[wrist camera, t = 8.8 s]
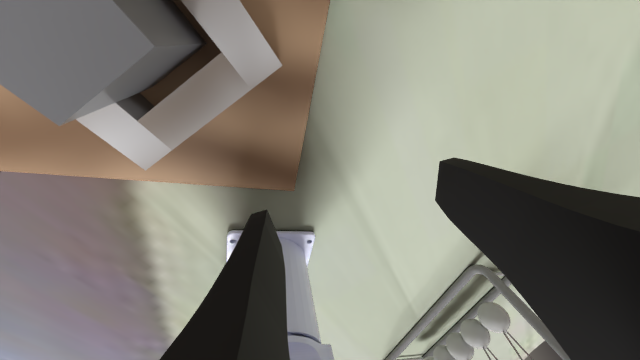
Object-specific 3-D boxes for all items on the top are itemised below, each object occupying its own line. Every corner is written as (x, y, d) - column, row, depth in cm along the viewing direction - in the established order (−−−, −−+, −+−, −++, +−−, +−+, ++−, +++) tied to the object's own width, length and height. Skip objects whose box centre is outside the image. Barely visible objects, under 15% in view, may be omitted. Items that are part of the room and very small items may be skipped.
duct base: (292, 184, 19) (297, 210, 16) (5, 162, 14) (-62, 194, 11) (351, -140, 11) (384, -207, 8) (-308, -480, 6) (-904, -1018, 3)
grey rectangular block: (206, 43, 12) (154, 46, 7) (152, 87, 13) (59, 126, 7) (137, -45, 10) (-32, -157, 4) (75, 11, 11) (-150, -22, 5)
